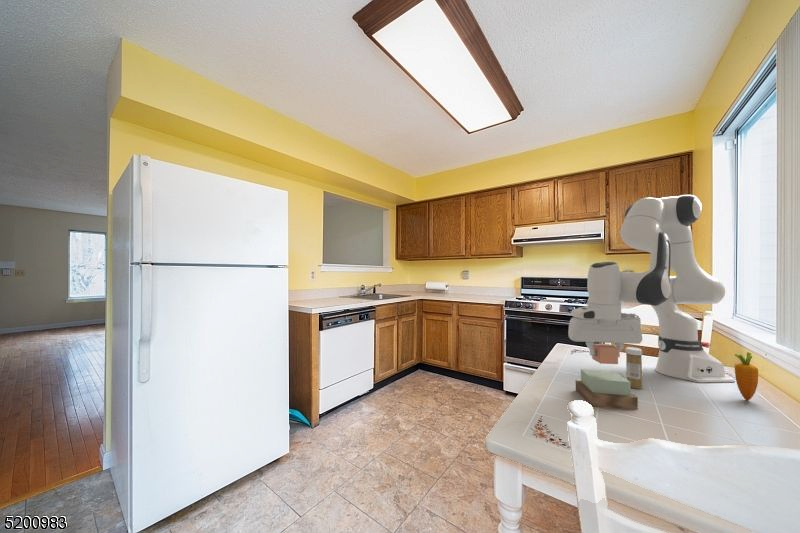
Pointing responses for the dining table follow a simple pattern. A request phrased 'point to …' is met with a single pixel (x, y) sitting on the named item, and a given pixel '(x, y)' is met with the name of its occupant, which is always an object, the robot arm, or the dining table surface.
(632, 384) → the sprinkles bottle
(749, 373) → the carrot
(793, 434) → the dining table surface
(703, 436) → the dining table surface
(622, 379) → the tower top
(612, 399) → the tower base
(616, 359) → the terracotta block
